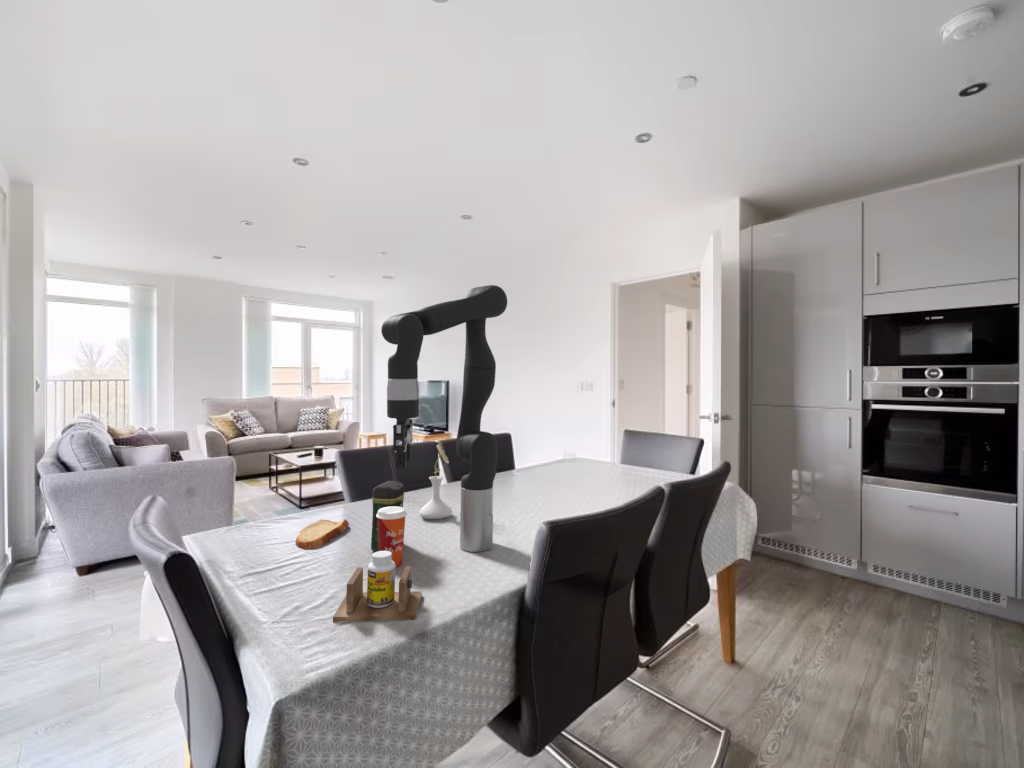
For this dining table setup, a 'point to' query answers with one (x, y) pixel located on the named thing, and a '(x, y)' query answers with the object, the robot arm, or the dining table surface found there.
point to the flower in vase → (436, 496)
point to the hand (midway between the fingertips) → (403, 464)
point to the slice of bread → (320, 533)
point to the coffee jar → (384, 504)
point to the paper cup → (391, 531)
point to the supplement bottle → (381, 580)
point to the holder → (359, 610)
